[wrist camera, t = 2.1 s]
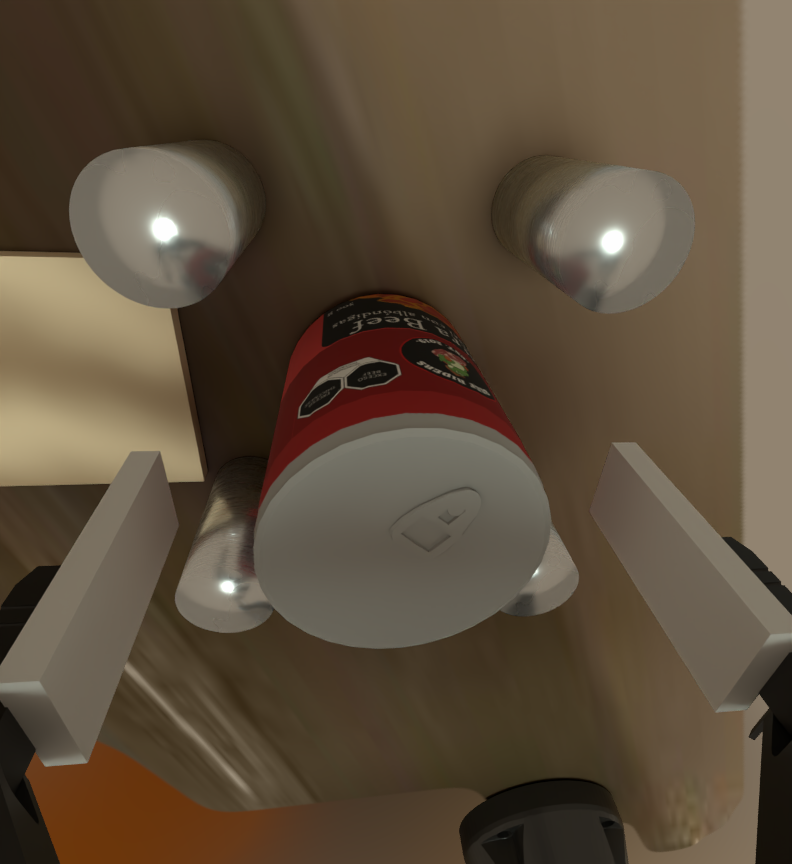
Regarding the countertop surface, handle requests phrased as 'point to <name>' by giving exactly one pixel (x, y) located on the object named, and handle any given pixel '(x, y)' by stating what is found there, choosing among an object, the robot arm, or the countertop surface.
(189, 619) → the cylinder
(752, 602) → the robot arm
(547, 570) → the cylinder
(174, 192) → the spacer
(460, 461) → the canned food
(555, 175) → the cylinder
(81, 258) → the coaster
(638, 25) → the countertop surface
